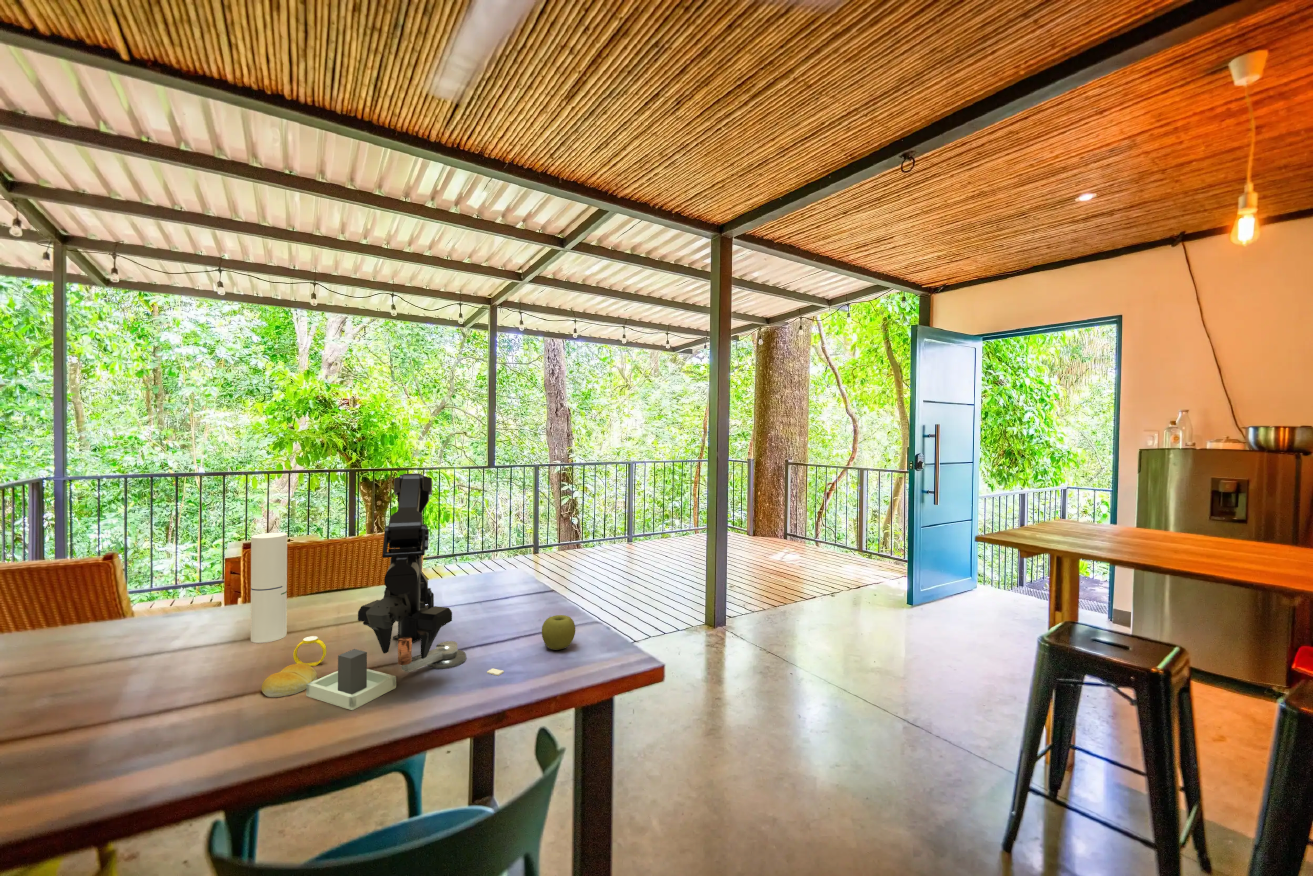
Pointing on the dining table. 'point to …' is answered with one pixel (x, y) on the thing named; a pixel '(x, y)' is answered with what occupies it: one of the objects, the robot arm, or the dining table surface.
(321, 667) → the dining table surface
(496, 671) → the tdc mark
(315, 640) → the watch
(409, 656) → the crank
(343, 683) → the dark gray rectangular block
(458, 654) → the hub plate
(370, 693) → the tray
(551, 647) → the apple
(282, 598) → the cylindrical container
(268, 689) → the bread roll
